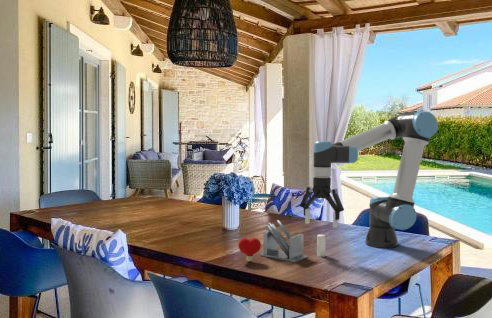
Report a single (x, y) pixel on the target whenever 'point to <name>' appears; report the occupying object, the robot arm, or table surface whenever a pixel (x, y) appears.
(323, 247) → the peg
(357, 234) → the table surface
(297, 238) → the chute
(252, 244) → the red heart on stand
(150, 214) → the table surface
